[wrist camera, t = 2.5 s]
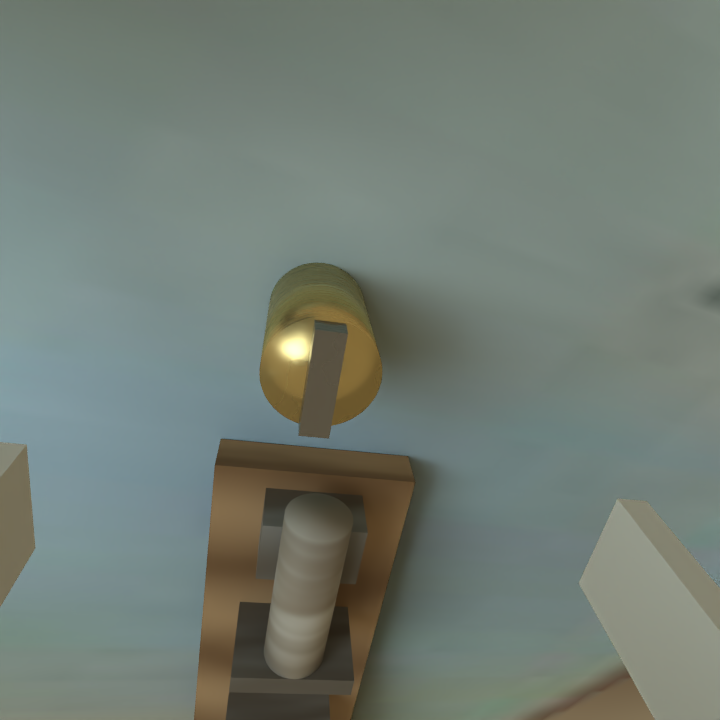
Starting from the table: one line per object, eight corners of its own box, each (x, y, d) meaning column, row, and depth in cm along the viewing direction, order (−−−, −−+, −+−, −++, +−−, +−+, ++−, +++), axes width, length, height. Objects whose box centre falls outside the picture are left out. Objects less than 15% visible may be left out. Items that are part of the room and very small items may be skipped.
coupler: (274, 255, 22) (264, 320, 16) (372, 270, 23) (397, 337, 17) (264, 345, 24) (252, 433, 18) (355, 356, 25) (372, 445, 19)
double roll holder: (220, 438, 26) (199, 531, 21) (407, 456, 27) (433, 546, 22) (194, 747, 36) (175, 862, 31) (332, 748, 38) (337, 858, 32)
